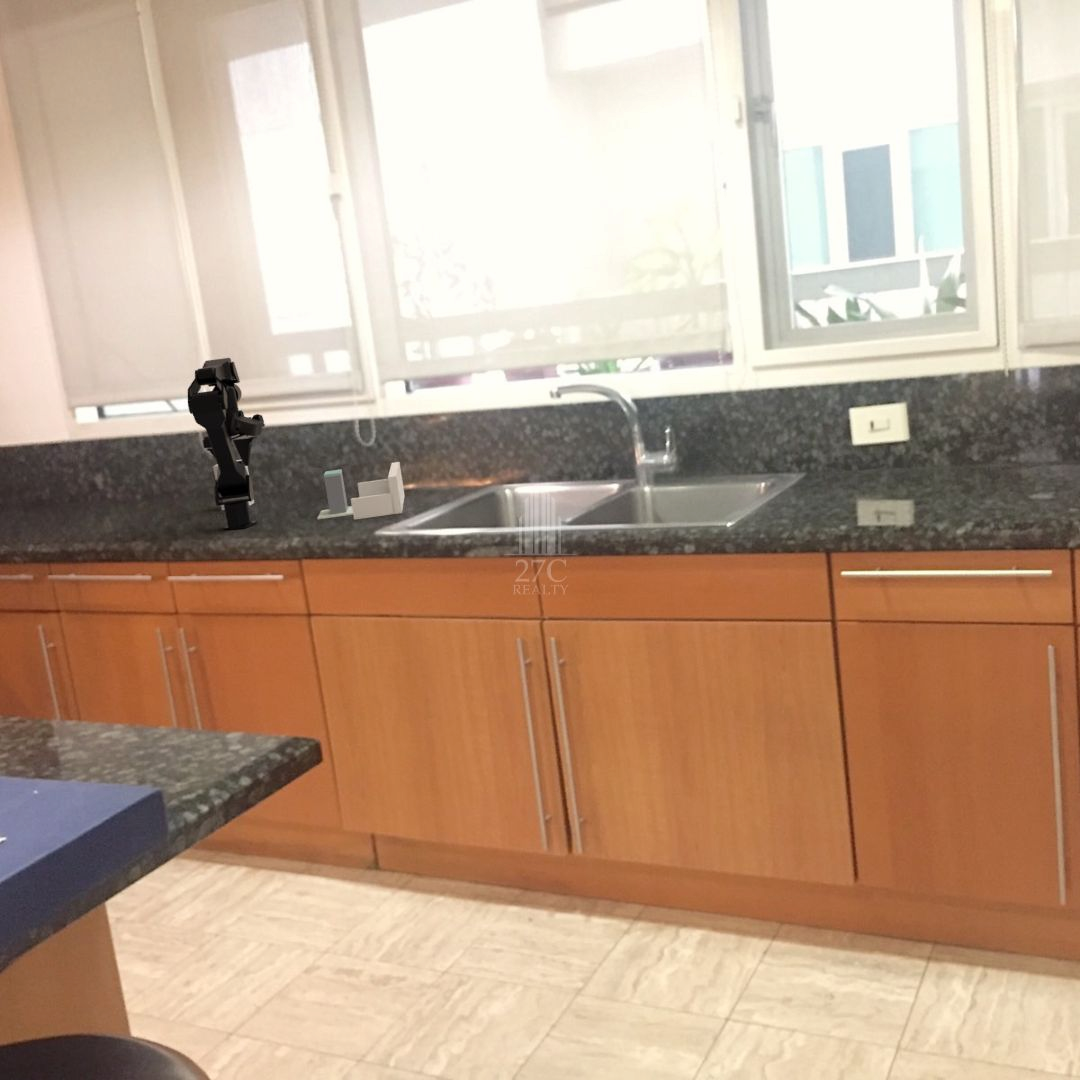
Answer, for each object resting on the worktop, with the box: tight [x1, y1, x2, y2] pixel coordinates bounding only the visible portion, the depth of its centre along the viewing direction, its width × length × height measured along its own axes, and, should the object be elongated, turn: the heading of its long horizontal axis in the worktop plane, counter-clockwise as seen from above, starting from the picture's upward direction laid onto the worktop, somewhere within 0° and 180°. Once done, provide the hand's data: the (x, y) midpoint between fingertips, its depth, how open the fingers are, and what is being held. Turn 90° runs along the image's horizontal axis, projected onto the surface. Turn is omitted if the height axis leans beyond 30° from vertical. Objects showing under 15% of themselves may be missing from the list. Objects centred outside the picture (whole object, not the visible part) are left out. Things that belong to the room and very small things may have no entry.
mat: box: [316, 505, 353, 520], centre depth 298 cm, size 10×11×1 cm
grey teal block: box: [323, 469, 349, 515], centre depth 297 cm, size 4×6×10 cm, turn 5°
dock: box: [350, 461, 405, 520], centre depth 297 cm, size 12×26×9 cm, turn 5°
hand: (237, 469), depth 305 cm, fingers open, 9 cm apart
